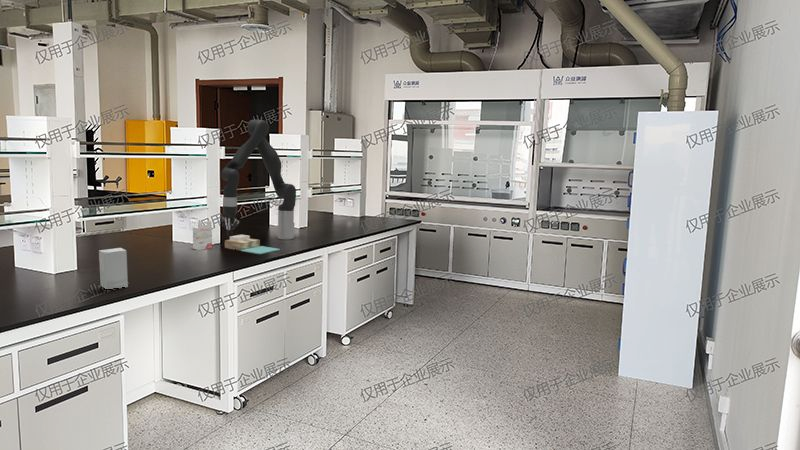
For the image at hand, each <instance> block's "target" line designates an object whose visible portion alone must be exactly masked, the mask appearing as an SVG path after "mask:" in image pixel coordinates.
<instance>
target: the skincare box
mask: <svg viewBox="0 0 800 450" xmlns="http://www.w3.org/2000/svg"><path fill="white" fill-rule="evenodd" d="M127 254H128V253H127V250H126V249H124V248H122V247H115V248H108V249H100V250H98V261H99V276H100V279H99V280H100V282H99V283H100V287H101V286H102V287H104V288H105V289H113V288H119V289H123V288H122V287H125V288H128V287H129V283H128V282H129V281H128V280H129V279H128V256H127ZM113 290H114V289H113Z"/></svg>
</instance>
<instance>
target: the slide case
mask: <svg viewBox="0 0 800 450" xmlns="http://www.w3.org/2000/svg"><path fill="white" fill-rule="evenodd" d="M250 238H251V236H250V235H248V234H247V235H246V234H236V235H232V236H230V237H229V240H232V241H243V240H249V239H250Z"/></svg>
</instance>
